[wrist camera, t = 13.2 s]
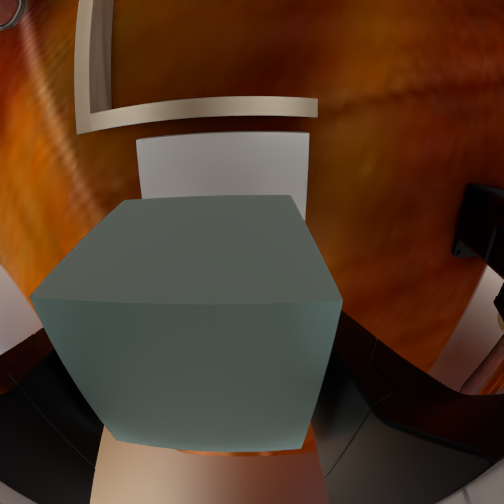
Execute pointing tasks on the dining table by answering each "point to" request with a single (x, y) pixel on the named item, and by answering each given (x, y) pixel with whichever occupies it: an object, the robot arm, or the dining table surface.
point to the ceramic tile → (225, 164)
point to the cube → (196, 322)
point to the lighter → (11, 12)
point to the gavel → (485, 365)
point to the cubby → (103, 116)
